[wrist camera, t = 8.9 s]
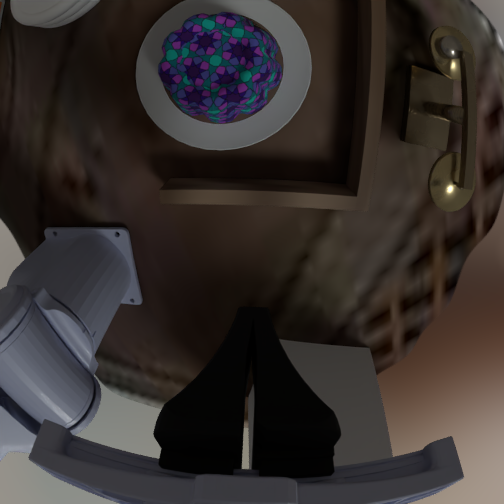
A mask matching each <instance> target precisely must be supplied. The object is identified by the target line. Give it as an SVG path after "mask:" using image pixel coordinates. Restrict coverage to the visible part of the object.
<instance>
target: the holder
mask: <svg viewBox="0 0 504 504" xmlns="http://www.w3.org/2000/svg"><path fill="white" fill-rule="evenodd" d="M385 67H386V0H358V43H357V72H356V89H355V104H354V116H353V127H352V137H351V146H350V155H349V163H348V171H347V179H346V184H337V183H325V182H311V181H296V180H276V179H250V178H170V179H169V180H168V181H167V182H166V183H165V184H164V186H163V187H162V188H161V189H160V190H159V193H160V203H161V204H218V205H256V206H282V207H303V208H321V209H337V210H351V211H365V212H368V210H369V204H370V199H371V193H372V187H373V181H374V175H375V169H376V162H377V155H378V147H379V139H380V131H381V121H382V111H383V99H384V86H385Z"/></svg>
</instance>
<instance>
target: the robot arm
mask: <svg viewBox="0 0 504 504" xmlns="http://www.w3.org/2000/svg"><path fill="white" fill-rule="evenodd" d="M55 232H56V233H57V234H56V233H55ZM116 232H118V233H119V234H120V235H118V234H117V233H116ZM44 234H45V237H46V240H45V241H44V242H43V243H42V244H40V245H39V246H38V247H37V248H36V249H35V250H34V251H33V252H32V253H31V254H30V255H29V256H28V257H27V258H26V259H25V260H24V261H23V262H22V263H21V264H20V265H19V266H18V267H17V268H16V269H15V270H14V271H13V273H12V274H11V276H10V278H9V281H8V283H7V286H6V287H4V288H2V289H1V290H0V461H1V460H2V459H3V458H4V457H5V456H6V454H7V453H8V452H22V453H30V455H29V460H30V461H32V462H33V463H35V464H36V465H37V466H39V467H40V468H42V469H43V470H45V471H46V472H48V473H49V474H51V475H52V476H54V477H56V478H58V479H60V480H62V481H64V482H67V483H69V484H72V485H73V486H76V487H78V488H81V489H83V490H85V491H88V492H90V493H93V494H95V495H98V496H100V497H103V498H106V499H109V500H111V501H114V502H117V503H120V504H407V503H410V502H414V501H417V500H420V499H423V498H425V497H428V496H431V495H434V494H436V493H438V492H440V491H442V490H444V489H446V488H447V487H449V486H451V485H453V484H454V483H456V482H458V481H460V480H461V479H463V477H464V475H463V472H462V468H461V464H460V461H459V457H458V454H457V450H456V447H455V444H454V441H453V438H452V437H451V436H450V437H447V438H444V439H440V440H437V441H434V442H432V443H430V444H428V445H427V446H426V447H424V449H423V450H420V451H416V452H412V453H409V454H404V455H400V456H396V457H391V458H386V459H381V460H376V461H370V462H364V463H358V464H351V465H343V466H335V467H334V461H333V456H334V455H335V452H334V446H335V445H336V443H337V442H338V440H339V439H340V437H341V429H340V425H339V422H338V419H337V417H336V415H335V412H334V411H333V410H332V409H331V408H330V407H329V406H327V405H326V404H325V403H324V402H323V401H322V400H321V399H320V398H319V397H318V396H317V395H316V394H315V393H314V392H313V390H312V389H311V388H310V387H309V386H308V384H307V383H306V382H305V381H304V380H303V378H302V377H301V376H300V374H299V373H298V372H297V370H296V369H295V367H294V366H293V364H292V363H291V361H290V359H289V358H288V356H287V354H286V352H285V350H284V349H283V347H282V345H281V343H280V340H279V338H278V336H277V334H276V331H275V329H274V326H273V323H272V320H271V317H270V312H269V309H268V308H263V307H239V308H238V312H237V315H236V318H235V320H234V322H233V324H232V327H231V329H230V330H229V332H228V334H227V336H226V338H225V340H224V341H223V343H222V344H221V346H220V348H219V349H218V351H217V352H216V354H215V355H214V356H213V358H212V359H211V360H210V362H209V363H208V364H207V365H206V367H205V368H204V369H203V370H202V371H201V372H200V373H199V375H198V376H197V377H196V378H195V379H194V380H193V381H192V382H191V383H190V384H188V385H187V386H186V387H185V388H184V389H183V390H182V391H181V392H180V393H178V394H177V395H176V396H175V397H173V398H172V399H171V400H169V401H168V402H167V403H165V404H164V406H163V408H162V410H161V412H160V414H159V416H158V419H157V421H156V425H155V429H154V433H153V434H154V437H155V439H156V441H157V442H158V444H159V445H160V447H161V448H162V449H161V454H160V458H159V459H157V458H152V457H147V456H143V455H138V454H134V453H130V452H126V451H122V450H119V449H115V448H111V447H108V446H105V445H101V444H98V443H95V442H92V441H89V440H86V439H83V438H80V437H77V436H75V434H77V433H79V432H81V431H82V430H83V429H84V428H86V427H87V426H88V424H89V423H90V422H91V421H92V419H93V418H94V416H95V414H96V413H97V410H98V408H99V405H100V401H101V388H100V385H99V383H98V381H97V379H96V378H95V377H94V374H95V371H96V369H97V367H98V362H97V361H96V359H95V357H94V354H95V352H96V350H97V348H98V346H99V344H100V342H101V340H102V338H103V336H104V334H105V332H106V330H107V328H108V326H109V324H110V322H111V320H112V319H113V317H114V315H115V313H116V311H117V309H118V307H119V305H120V303H124V304H135V305H140V304H141V303H142V301H143V298H142V294H141V290H140V285H139V281H138V276H137V272H136V267H135V262H134V257H133V252H132V247H131V241H130V235H129V231H128V230H127V229H126V228H123V227H48V228H46V229H45V231H44ZM132 299H134V300H132ZM251 357H252V369H253V385H254V421H253V445H252V466H251V469H242V450H243V431H244V412H245V398H246V390H247V384H248V377H249V371H250V364H251Z"/></svg>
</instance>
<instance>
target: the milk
mask: <svg viewBox="0 0 504 504" xmlns="http://www.w3.org/2000/svg"><path fill="white" fill-rule="evenodd" d="M279 340H280V343H281V345H282V347H283V349H284V350H285V352H286V354H287V356H288V358H289V359H290V361H291V363H292V364H293V366H294V367H295V369H296V370H297V372H298V373H299V374H300V376H301V377H302V378H303V380H304V381H305V382H306V383H307V384H308V386H309V387H310V388H311V389H312V390H313V392H314V393H315V394H316V395H317V396H318V397H319V398H320V399H321V400H322V401H323V402H324V403H325V404H326V405H327V406H329V407H330V408H331V409H332V410H333V411H334V412H335V415H336V417H337V419H338V422H339V425H340V429H341V437H340V439H339V440H338V442H337V443H336V445H335V446H334V452H335V455H334V456H333V461H334V467H335V466H343V465H351V464H358V463H364V462H370V461H376V460H381V459H386V458H391V457H393V455H392V449H391V444H390V438H389V432H388V427H387V422H386V417H385V412H384V407H383V403H382V398H381V394H380V389H379V385H378V381H377V376H376V372H375V368H374V364H373V360H372V356H371V352H370V349H369V348H362V347H349V346H336V345H325V344H315V343H306V342H297V341H289V340H281V339H279ZM253 421H254V385H253V386H252V389H251V391H250V394H249V397H248V422H249V469H251V466H252V445H253Z"/></svg>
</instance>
